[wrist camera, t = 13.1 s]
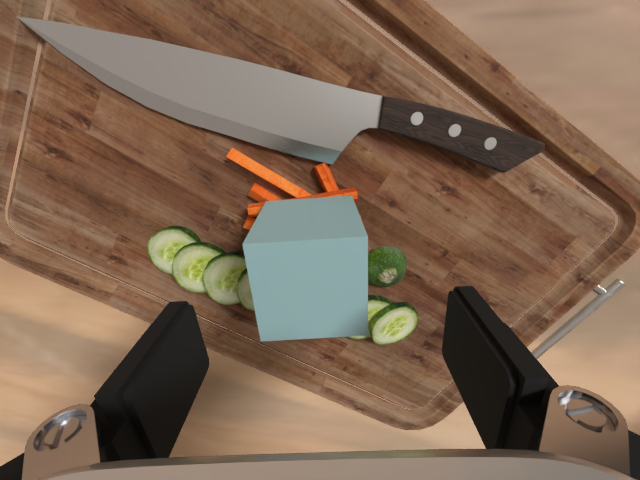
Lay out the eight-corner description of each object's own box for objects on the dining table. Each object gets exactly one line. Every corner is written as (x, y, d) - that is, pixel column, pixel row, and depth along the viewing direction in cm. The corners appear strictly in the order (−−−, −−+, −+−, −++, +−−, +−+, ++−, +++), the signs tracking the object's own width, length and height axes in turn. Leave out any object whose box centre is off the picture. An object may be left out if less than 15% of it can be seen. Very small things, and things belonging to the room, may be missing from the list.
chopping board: (-64, 215, 21) (-123, 232, 18) (-3, -338, 12) (-103, -478, 9) (434, 433, 31) (446, 466, 28) (678, 224, 22) (732, 241, 19)
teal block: (352, 195, 17) (368, 236, 12) (353, 270, 19) (367, 335, 14) (265, 201, 17) (242, 244, 12) (276, 275, 20) (260, 341, 14)
